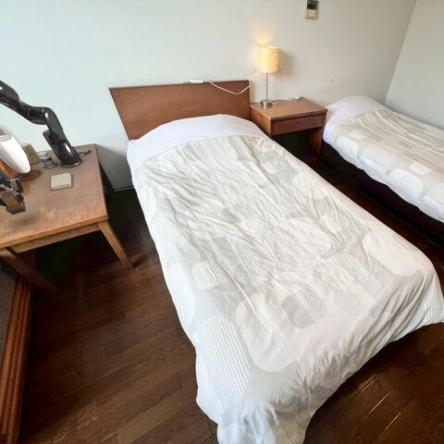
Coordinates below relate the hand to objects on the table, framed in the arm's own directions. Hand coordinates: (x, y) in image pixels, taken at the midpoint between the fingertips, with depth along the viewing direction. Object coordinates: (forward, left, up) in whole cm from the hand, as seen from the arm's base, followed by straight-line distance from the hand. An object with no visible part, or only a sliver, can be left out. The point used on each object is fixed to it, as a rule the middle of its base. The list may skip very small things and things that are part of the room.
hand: (13, 202), depth 107 cm
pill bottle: (-41, -32, -11) cm, 53 cm away
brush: (0, 0, -3) cm, 3 cm away
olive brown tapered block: (-42, -44, -11) cm, 62 cm away
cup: (-29, -34, -11) cm, 46 cm away
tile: (-29, -12, -11) cm, 33 cm away
